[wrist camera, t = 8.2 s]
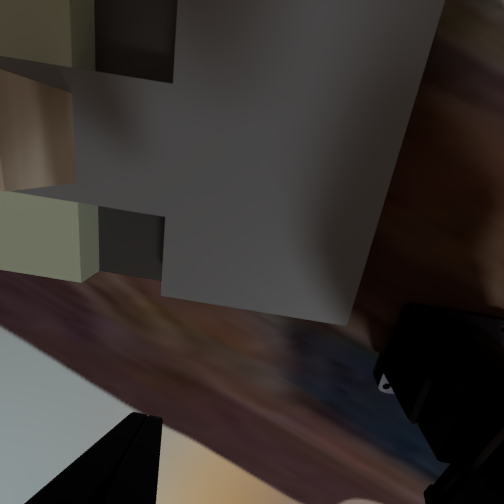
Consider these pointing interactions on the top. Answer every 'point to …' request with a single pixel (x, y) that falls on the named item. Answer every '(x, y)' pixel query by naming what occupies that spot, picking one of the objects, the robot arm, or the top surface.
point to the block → (34, 134)
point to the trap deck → (218, 143)
